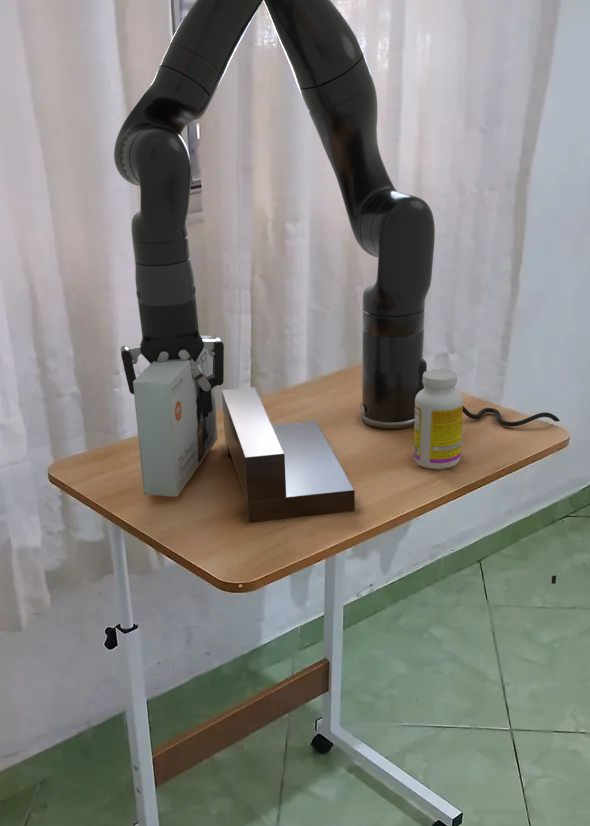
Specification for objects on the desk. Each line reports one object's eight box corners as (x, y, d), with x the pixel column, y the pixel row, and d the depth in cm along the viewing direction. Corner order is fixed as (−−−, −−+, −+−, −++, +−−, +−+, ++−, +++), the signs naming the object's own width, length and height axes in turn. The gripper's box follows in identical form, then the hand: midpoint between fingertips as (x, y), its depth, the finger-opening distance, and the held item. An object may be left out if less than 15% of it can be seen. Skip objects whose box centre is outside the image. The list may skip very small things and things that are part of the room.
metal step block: (316, 438, 156) (315, 381, 151) (354, 511, 135) (354, 446, 130) (225, 447, 154) (221, 389, 149) (249, 522, 133) (245, 457, 128)
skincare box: (181, 498, 137) (168, 383, 129) (143, 497, 138) (127, 382, 130) (222, 438, 154) (212, 333, 146) (187, 437, 155) (175, 332, 147)
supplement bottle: (469, 460, 147) (474, 372, 140) (441, 475, 143) (445, 385, 136) (431, 449, 151) (435, 363, 144) (403, 463, 147) (406, 375, 140)
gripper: (218, 283, 137) (227, 403, 146) (110, 293, 136) (126, 414, 145) (224, 298, 131) (234, 422, 140) (111, 308, 129) (129, 433, 138)
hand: (179, 417), depth 142 cm, fingers closed on skincare box, 6 cm apart
